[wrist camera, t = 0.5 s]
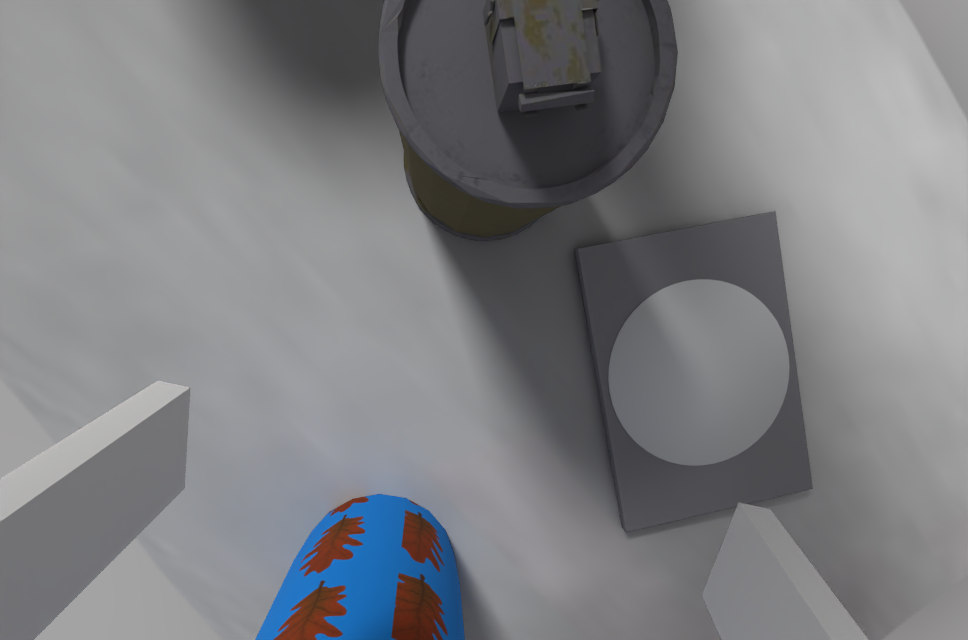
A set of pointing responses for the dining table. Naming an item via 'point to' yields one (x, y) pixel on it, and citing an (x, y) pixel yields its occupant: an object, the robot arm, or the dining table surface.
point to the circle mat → (695, 369)
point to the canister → (522, 102)
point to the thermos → (371, 578)
